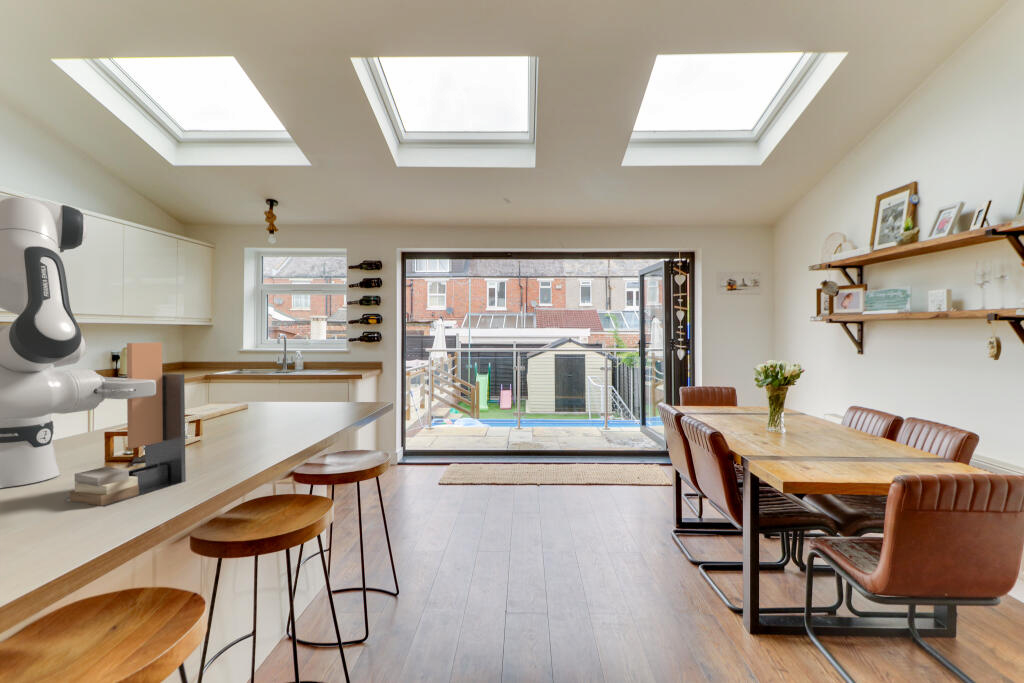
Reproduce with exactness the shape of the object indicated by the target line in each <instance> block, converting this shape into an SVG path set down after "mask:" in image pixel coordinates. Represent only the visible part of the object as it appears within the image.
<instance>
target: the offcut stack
mask: <svg viewBox="0 0 1024 683" xmlns="http://www.w3.org/2000/svg"><path fill="white" fill-rule="evenodd" d="M129 470H130V469H129ZM129 470H128V469H121V468H115V467H110V466H103V467H99V468H94V469H90V470H86V471H82V472H77V473H74V490H71V491H70V492H69V499H70V501H69V502H71V501H75V502H74V503H77V502H81V503H80V504H83V503H88V504H87V505H89V504H94V505H93V506H95V505H100V506H99V507H102V505H105V504H109V503H112V502H115V501H118V500H122V499H125V498H128V497H131V496H135V495H138V494H139V485H138V477H134V476H129Z"/></svg>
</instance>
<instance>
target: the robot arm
mask: <svg viewBox="0 0 1024 683" xmlns="http://www.w3.org/2000/svg"><path fill="white" fill-rule="evenodd" d="M87 235H88V225H87V221H86V219H85V218H84V214H83V213H82V212H81V211H80V210H79V209H78V208H75V207H72V206H69V205H65V204H62V205H60V204H57V203H52V202H49V201H44V200H40V199H35V198H30V197H21V196H11V195H3V194H1V195H0V309H2V310H4V311H7V312H10V313H11V314H14V315H18V316H16V318H15V319H14V320H13V321H12V322H11V323H10V324H9V325H0V489H3V488H9V487H17V486H24V485H29V484H34V483H35V484H36V483H40V482H43V481H47V480H50V479H52V478H55V477H56V478H57V477H58V476H59V475H61V471H60V466H59V465H58V462H57V457H56V450H55V446H54V440H53V435H54V422H53V420H52V419H51V417H52V415H51V414H58V415H64V414H72V413H80V412H85V411H87V412H88V411H92V410H95V409H96V408H98V407H99V405H100V403H103V402H104V401H105V399H110V400H127V399H132V398H142V397H151V396H154V395H155V394H156V381H155V380H149V379H133V378H127V377H115V376H110V377H109V376H102V375H101V374H98V373H97V372H96V371H95V370H93V369H90V368H79V369H64V370H58V369H56V368H59V367H64V366H69V365H75V364H77V363H78V362H79V361H80V360H81V359H82V358H83V357H84V355H85V352H86V346H87V345H86V340H85V338H84V337H83V335H82V331H81V328H80V326H79V323H78V322H77V319H76V318H75V316H74V314H73V312H72V308H71V303H70V298H69V290H68V282H67V276H66V271H65V270H66V269H65V267H64V266H65V265H64V263H63V261H62V258H61V256H60V255H59V253H64V251H66V250H67V251H68V250H74V249H77V248H79V247H80V246H81V245H82V244H83V242H84V241H85V239H86V237H87Z"/></svg>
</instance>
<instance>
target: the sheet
mask: <svg viewBox="0 0 1024 683" xmlns="http://www.w3.org/2000/svg"><path fill="white" fill-rule="evenodd" d="M162 373H163V342H127V343H126V378H133V379H149V380H155V381H156V394H155V395H154V396H151V397H142V398H132V399H126V400H127V402H126V404H127V405H126V406H127V407H126V408H127V409H126V411H127V412H126V414H127V420H126V421H127V423H126V424H127V425H126V426H127V448H129V449H136V448H140V447H145V445H150V444H154V443H159V442H163V408H162Z"/></svg>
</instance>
